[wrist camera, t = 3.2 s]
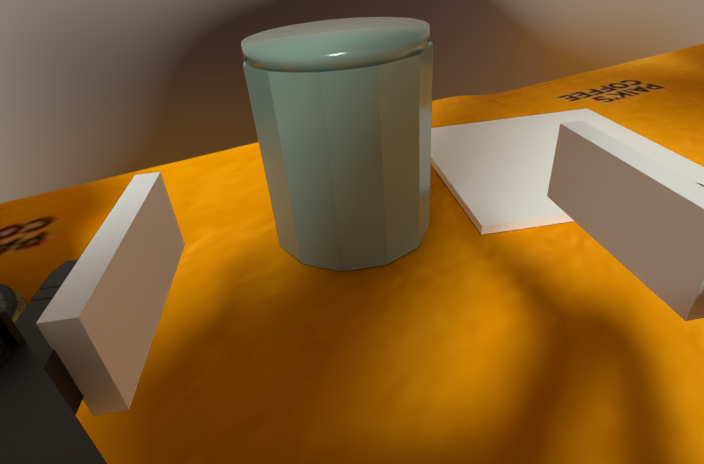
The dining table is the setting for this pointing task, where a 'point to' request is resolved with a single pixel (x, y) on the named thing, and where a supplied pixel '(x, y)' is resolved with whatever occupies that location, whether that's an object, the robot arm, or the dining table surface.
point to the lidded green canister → (345, 136)
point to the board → (522, 166)
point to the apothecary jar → (11, 302)
